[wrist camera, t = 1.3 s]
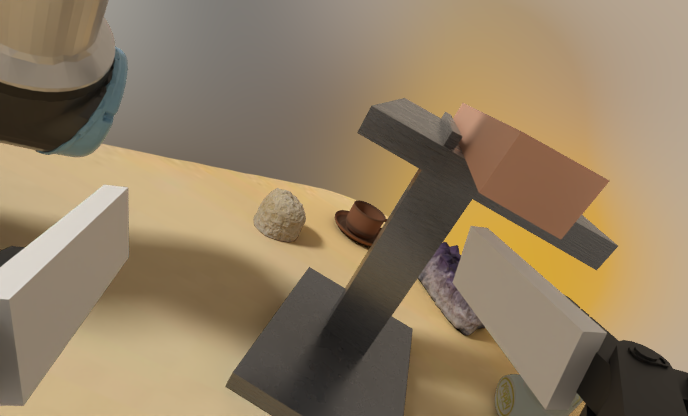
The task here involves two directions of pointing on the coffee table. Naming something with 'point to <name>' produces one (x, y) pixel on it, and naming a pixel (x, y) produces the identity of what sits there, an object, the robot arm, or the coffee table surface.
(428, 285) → the geode
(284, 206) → the beige rough dome
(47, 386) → the coffee table surface
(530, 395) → the air freshener
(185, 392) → the coffee table surface
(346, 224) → the cup and saucer
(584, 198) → the block
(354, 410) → the stand
